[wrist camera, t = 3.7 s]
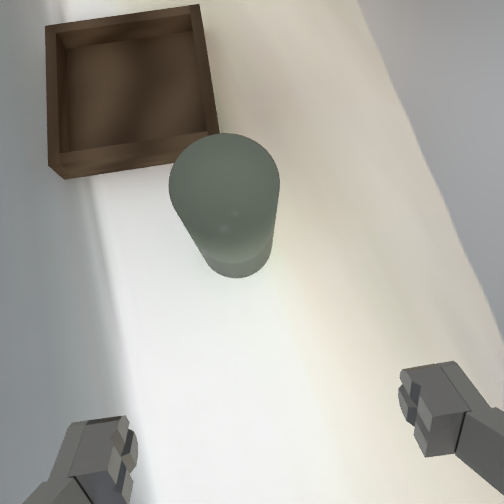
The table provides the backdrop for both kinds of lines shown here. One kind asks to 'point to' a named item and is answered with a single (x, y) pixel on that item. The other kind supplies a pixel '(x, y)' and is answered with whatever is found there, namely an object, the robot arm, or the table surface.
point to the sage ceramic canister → (227, 201)
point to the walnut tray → (127, 91)
